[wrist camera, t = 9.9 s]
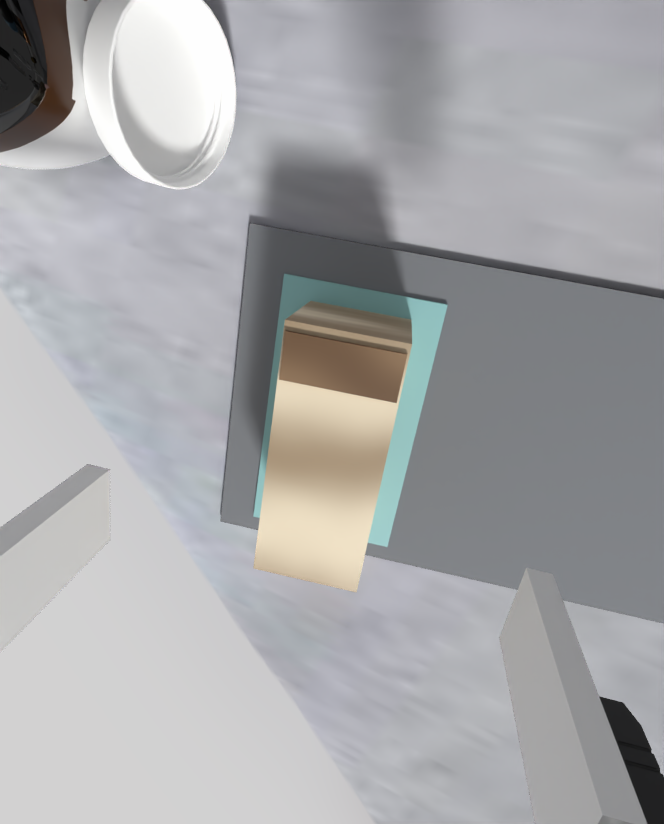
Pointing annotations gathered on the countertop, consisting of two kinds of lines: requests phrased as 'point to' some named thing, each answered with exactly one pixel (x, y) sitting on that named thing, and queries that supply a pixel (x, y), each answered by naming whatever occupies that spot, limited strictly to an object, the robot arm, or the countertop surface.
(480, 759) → the countertop surface
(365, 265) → the rubber mat
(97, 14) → the spread jar
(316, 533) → the birch block
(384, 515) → the pad
